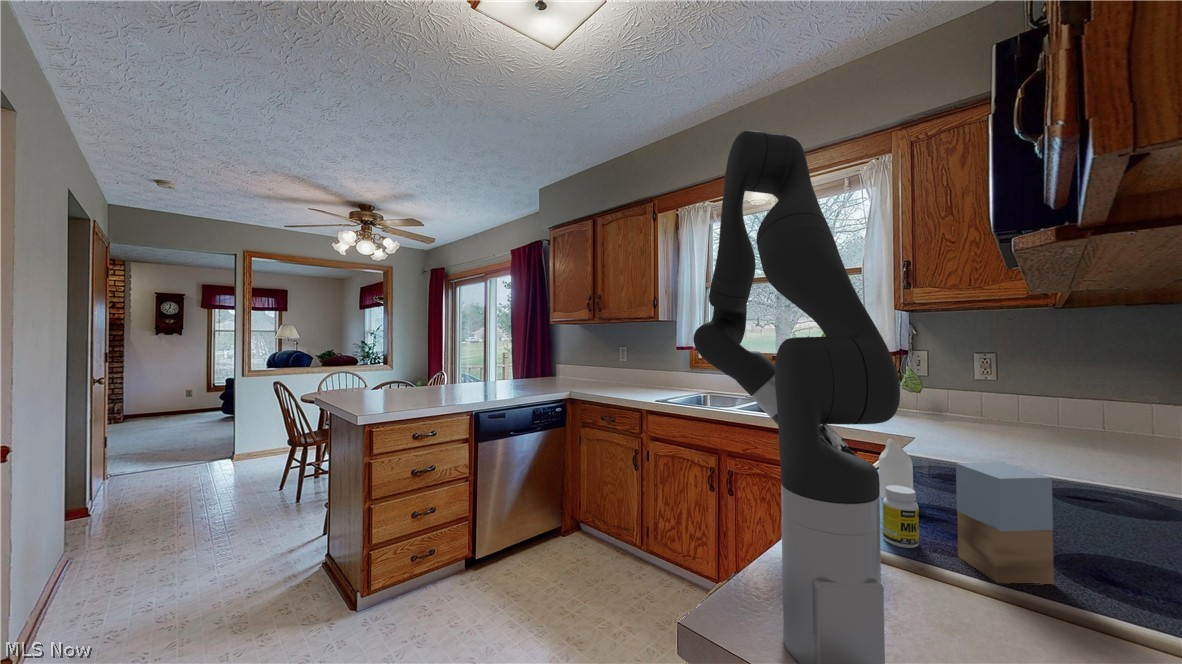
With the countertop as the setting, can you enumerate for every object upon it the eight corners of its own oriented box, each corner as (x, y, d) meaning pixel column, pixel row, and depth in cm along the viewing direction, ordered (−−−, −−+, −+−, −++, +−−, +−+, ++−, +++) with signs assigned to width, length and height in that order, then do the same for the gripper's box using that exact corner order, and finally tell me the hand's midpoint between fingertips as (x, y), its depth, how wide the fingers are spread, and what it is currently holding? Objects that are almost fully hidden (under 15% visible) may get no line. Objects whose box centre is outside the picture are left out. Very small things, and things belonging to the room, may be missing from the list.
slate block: (1052, 530, 59) (1051, 477, 59) (1000, 531, 59) (999, 478, 59) (1003, 509, 66) (1002, 462, 66) (956, 510, 66) (955, 463, 66)
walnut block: (1053, 584, 59) (1052, 531, 59) (996, 583, 60) (995, 530, 60) (1008, 558, 66) (1007, 510, 66) (958, 556, 66) (957, 509, 67)
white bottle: (920, 441, 87) (896, 443, 86) (921, 502, 87) (897, 505, 86) (892, 434, 93) (870, 436, 92) (893, 492, 93) (871, 494, 92)
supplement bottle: (903, 550, 68) (902, 495, 69) (875, 537, 73) (875, 485, 73) (926, 546, 70) (926, 492, 70) (898, 533, 74) (897, 482, 74)
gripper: (798, 393, 72) (883, 474, 67) (804, 383, 85) (877, 451, 79) (763, 423, 75) (843, 503, 69) (775, 409, 87) (843, 477, 82)
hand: (861, 475), depth 74 cm, fingers open, 8 cm apart
